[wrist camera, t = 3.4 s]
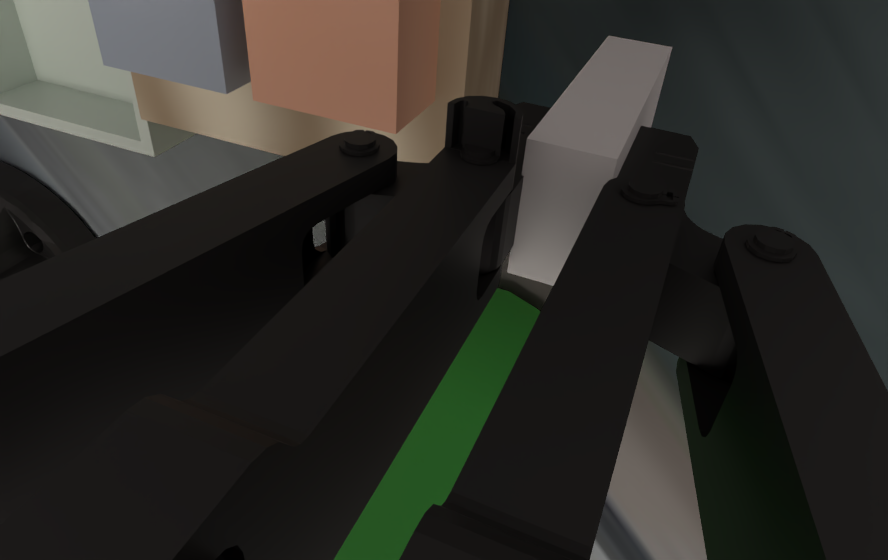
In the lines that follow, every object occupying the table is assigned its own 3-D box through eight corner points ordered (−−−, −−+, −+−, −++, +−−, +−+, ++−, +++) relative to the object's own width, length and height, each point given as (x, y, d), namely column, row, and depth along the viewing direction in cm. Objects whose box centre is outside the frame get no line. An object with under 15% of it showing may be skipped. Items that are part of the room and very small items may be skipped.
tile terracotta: (303, 72, 23) (253, 100, 21) (293, -89, 20) (233, -77, 18) (434, 100, 22) (396, 134, 20) (444, -67, 19) (400, -51, 17)
